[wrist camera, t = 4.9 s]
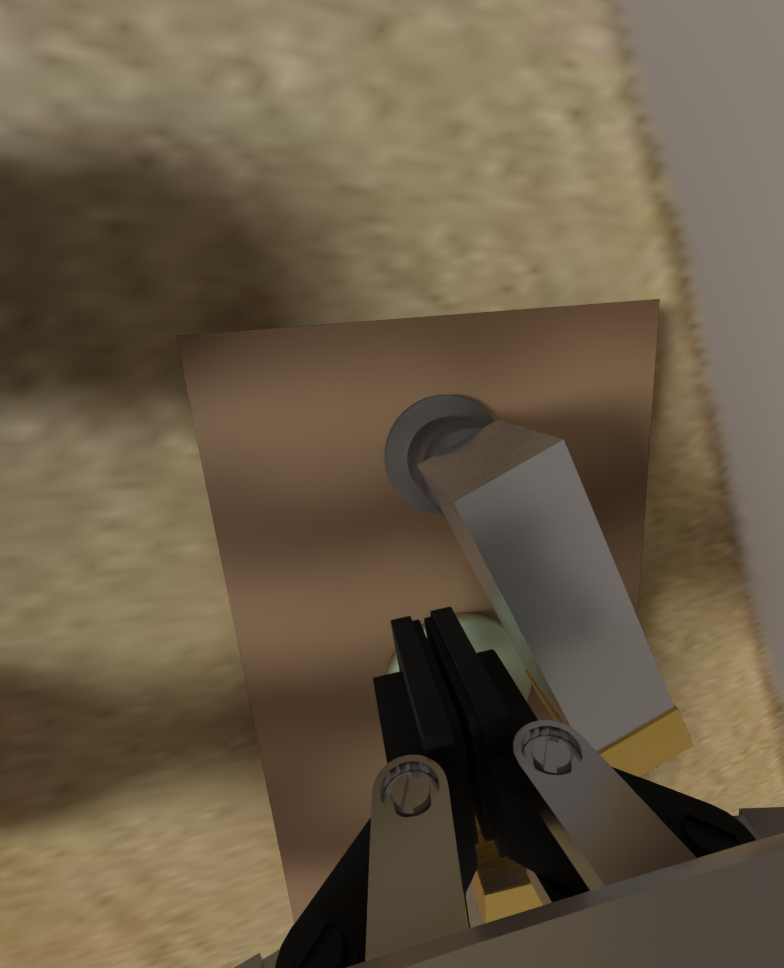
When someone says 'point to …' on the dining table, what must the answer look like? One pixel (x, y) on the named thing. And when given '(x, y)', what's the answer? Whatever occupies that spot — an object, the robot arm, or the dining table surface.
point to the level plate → (387, 515)
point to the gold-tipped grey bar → (551, 583)
